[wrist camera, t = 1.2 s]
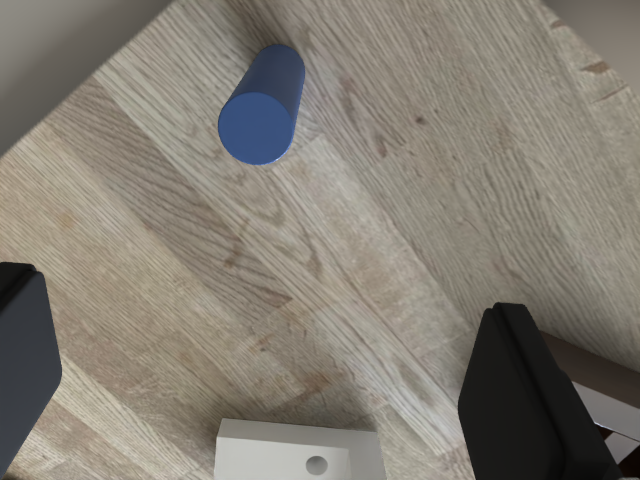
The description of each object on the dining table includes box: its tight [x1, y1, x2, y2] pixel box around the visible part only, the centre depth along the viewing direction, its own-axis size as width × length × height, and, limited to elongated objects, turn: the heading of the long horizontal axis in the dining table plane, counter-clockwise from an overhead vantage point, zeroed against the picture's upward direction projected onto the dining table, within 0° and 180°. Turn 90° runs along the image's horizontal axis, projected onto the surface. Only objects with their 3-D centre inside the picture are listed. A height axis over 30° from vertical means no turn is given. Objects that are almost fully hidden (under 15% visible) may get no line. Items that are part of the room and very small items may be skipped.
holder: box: [539, 330, 640, 479], centre depth 41 cm, size 9×16×5 cm, turn 64°
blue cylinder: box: [218, 45, 305, 165], centre depth 26 cm, size 3×3×11 cm
